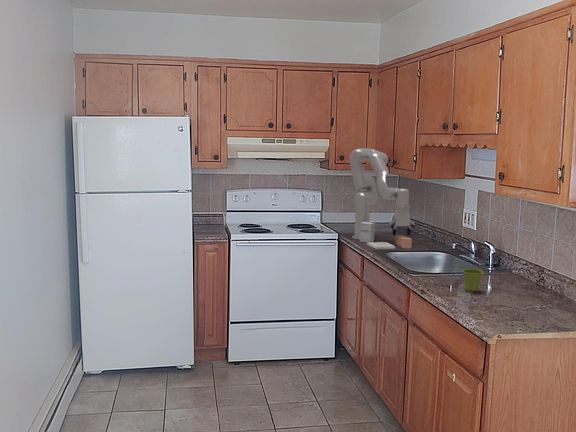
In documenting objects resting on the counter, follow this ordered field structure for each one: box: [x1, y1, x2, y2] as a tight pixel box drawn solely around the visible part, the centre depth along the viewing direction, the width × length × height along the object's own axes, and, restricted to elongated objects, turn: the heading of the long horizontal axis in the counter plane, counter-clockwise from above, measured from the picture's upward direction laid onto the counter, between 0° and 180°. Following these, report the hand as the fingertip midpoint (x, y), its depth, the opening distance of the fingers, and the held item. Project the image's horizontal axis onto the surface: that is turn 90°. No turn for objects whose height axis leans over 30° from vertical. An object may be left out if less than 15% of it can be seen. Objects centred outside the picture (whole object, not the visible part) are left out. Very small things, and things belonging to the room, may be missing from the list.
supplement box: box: [359, 221, 376, 244], centre depth 398 cm, size 7×7×13 cm
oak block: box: [394, 234, 407, 247], centre depth 390 cm, size 5×5×6 cm
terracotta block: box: [400, 237, 413, 249], centre depth 381 cm, size 5×5×6 cm
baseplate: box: [366, 241, 396, 250], centre depth 382 cm, size 14×13×2 cm
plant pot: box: [461, 268, 484, 292], centre depth 278 cm, size 9×9×9 cm
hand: (401, 235), depth 389 cm, fingers open, 9 cm apart
